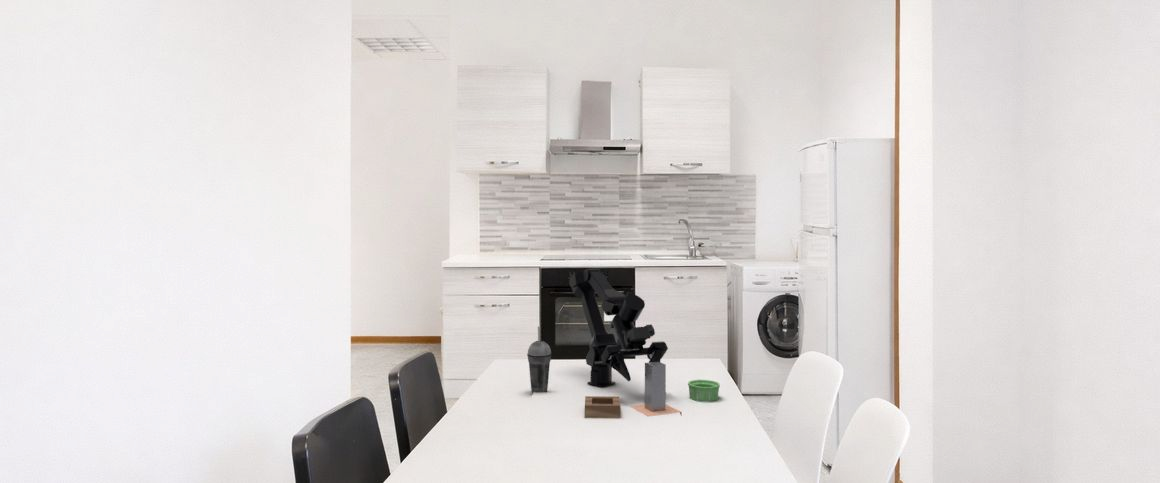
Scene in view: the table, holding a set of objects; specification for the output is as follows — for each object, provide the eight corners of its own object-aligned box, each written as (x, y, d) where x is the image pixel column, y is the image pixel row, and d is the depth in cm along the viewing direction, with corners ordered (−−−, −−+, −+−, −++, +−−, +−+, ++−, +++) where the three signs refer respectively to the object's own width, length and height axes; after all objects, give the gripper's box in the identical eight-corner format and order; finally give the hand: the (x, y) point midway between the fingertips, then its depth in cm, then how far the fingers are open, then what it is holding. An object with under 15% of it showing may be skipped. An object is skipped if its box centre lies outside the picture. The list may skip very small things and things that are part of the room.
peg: (644, 407, 166) (644, 362, 165) (657, 406, 167) (658, 361, 167) (652, 411, 162) (652, 365, 162) (665, 410, 164) (665, 364, 163)
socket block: (585, 411, 166) (585, 396, 166) (619, 411, 166) (619, 396, 166) (584, 421, 157) (584, 405, 157) (620, 421, 157) (620, 406, 157)
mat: (629, 409, 167) (629, 406, 167) (661, 405, 171) (661, 402, 171) (647, 420, 158) (647, 416, 158) (681, 415, 162) (681, 411, 162)
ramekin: (684, 400, 177) (684, 385, 177) (691, 393, 185) (691, 378, 185) (716, 404, 173) (716, 388, 173) (722, 396, 182) (722, 381, 182)
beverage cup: (553, 390, 187) (553, 324, 187) (549, 397, 180) (549, 328, 180) (529, 390, 188) (529, 323, 188) (524, 396, 181) (524, 327, 180)
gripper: (605, 316, 171) (623, 365, 161) (664, 313, 178) (685, 359, 168) (593, 340, 178) (610, 388, 168) (651, 336, 185) (670, 381, 175)
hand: (644, 378), depth 170 cm, fingers open, 9 cm apart
